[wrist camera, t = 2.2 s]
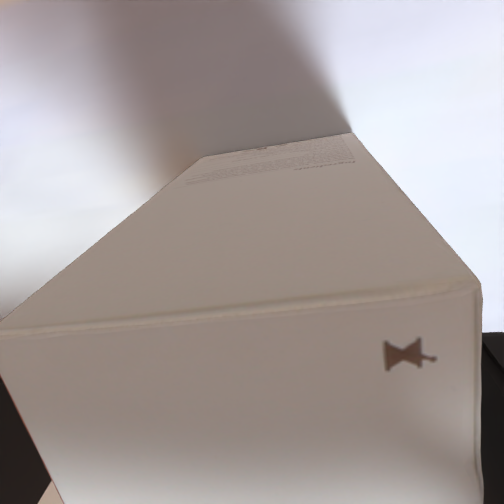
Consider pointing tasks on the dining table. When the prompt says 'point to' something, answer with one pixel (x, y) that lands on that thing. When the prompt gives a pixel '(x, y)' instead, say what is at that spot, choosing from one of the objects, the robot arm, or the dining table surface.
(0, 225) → the dining table surface
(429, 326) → the small box
